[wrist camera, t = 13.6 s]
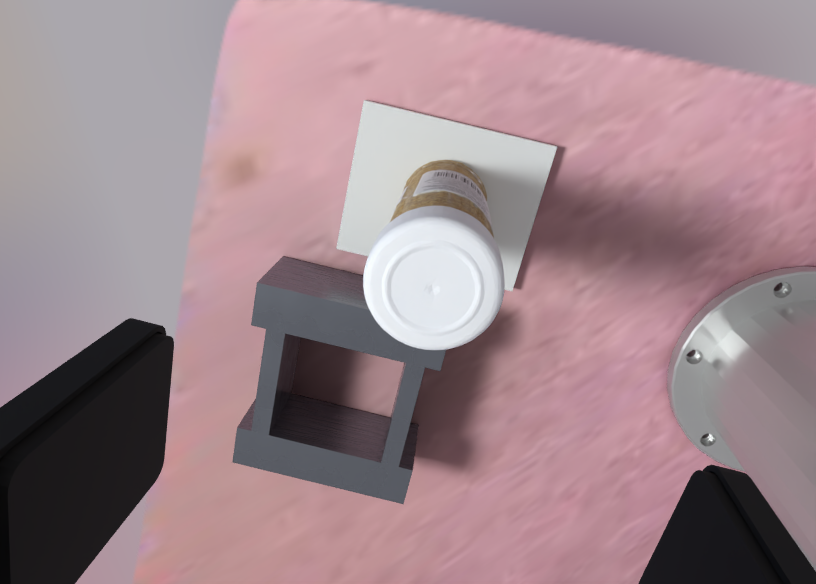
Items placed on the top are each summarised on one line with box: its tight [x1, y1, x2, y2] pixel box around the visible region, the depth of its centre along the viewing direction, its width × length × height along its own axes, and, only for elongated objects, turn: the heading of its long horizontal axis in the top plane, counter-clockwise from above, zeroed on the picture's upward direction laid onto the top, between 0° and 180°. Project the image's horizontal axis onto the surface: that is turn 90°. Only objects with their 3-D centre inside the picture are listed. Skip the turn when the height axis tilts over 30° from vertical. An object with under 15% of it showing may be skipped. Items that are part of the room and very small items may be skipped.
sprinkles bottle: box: [363, 160, 505, 350], centre depth 24 cm, size 5×5×14 cm
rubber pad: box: [336, 100, 557, 291], centre depth 31 cm, size 10×8×1 cm
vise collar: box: [233, 256, 446, 504], centre depth 33 cm, size 10×11×4 cm
